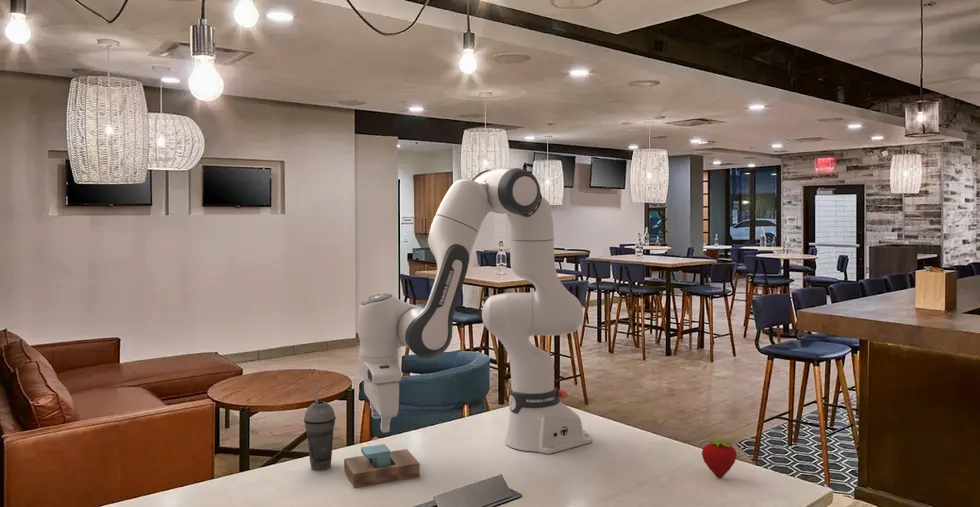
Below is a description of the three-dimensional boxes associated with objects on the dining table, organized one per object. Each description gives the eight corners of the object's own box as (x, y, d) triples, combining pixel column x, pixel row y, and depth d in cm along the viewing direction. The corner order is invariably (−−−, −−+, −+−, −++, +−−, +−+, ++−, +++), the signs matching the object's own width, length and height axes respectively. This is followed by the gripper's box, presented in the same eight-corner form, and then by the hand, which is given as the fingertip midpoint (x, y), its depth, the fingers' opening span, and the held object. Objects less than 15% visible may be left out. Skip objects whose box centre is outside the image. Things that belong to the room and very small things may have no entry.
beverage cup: (328, 474, 151) (326, 388, 150) (299, 471, 153) (297, 386, 152) (341, 462, 158) (340, 380, 157) (313, 460, 160) (311, 378, 159)
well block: (406, 461, 159) (406, 449, 159) (419, 476, 150) (419, 463, 150) (344, 471, 153) (344, 458, 153) (353, 487, 144) (353, 474, 144)
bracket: (385, 469, 154) (384, 443, 154) (390, 476, 150) (390, 450, 149) (361, 473, 152) (361, 447, 152) (366, 480, 147) (366, 454, 147)
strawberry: (697, 472, 150) (698, 429, 150) (730, 472, 151) (730, 429, 150) (706, 483, 144) (707, 438, 144) (740, 482, 145) (741, 437, 144)
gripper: (356, 356, 159) (358, 412, 160) (374, 378, 140) (376, 441, 142) (382, 353, 161) (384, 408, 163) (403, 375, 143) (404, 437, 144)
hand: (380, 424), depth 152 cm, fingers open, 8 cm apart
